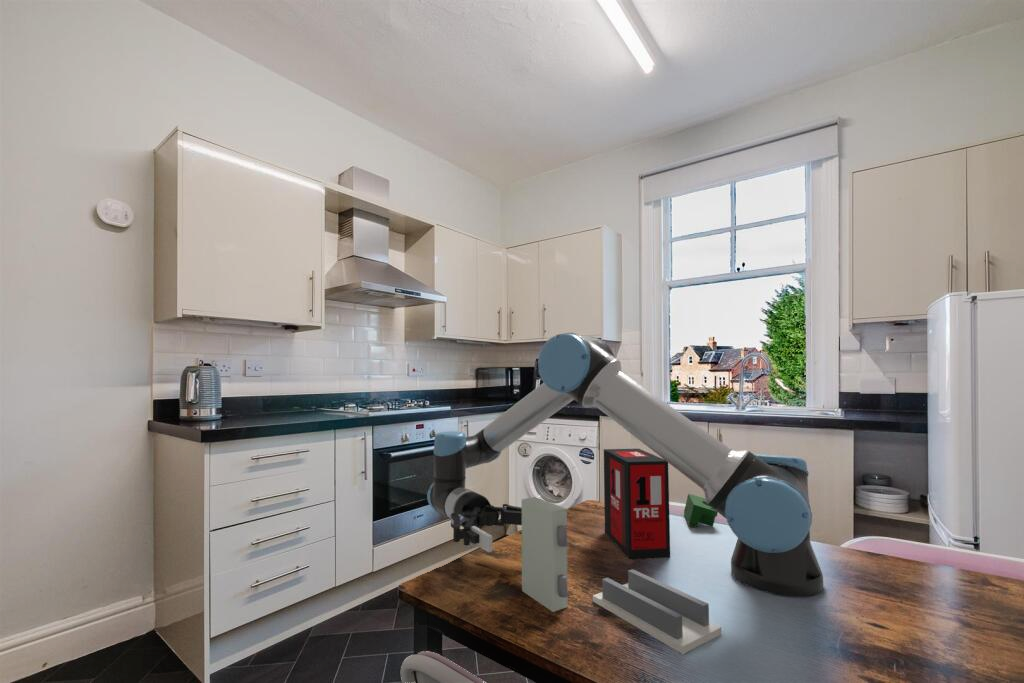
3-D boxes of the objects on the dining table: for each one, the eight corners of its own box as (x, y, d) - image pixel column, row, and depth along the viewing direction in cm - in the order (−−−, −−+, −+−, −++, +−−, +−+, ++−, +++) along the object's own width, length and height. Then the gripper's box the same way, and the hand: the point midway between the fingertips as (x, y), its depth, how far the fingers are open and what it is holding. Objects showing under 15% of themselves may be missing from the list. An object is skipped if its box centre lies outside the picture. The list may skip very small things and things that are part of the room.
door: (521, 590, 84) (521, 499, 85) (535, 586, 86) (535, 496, 87) (558, 615, 76) (557, 513, 77) (572, 610, 77) (572, 510, 78)
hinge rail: (592, 601, 80) (592, 577, 81) (630, 588, 85) (629, 565, 86) (682, 654, 65) (682, 624, 66) (721, 634, 70) (720, 606, 71)
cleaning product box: (670, 557, 99) (668, 461, 101) (629, 559, 98) (627, 462, 100) (640, 531, 116) (638, 448, 117) (604, 532, 115) (603, 449, 116)
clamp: (709, 545, 118) (719, 516, 115) (684, 537, 120) (694, 509, 117) (706, 513, 129) (715, 487, 126) (683, 507, 131) (692, 480, 127)
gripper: (515, 516, 111) (575, 544, 93) (414, 537, 98) (461, 573, 80) (515, 484, 112) (574, 505, 94) (415, 500, 98) (461, 528, 80)
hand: (522, 536), depth 87 cm, fingers open, 13 cm apart
